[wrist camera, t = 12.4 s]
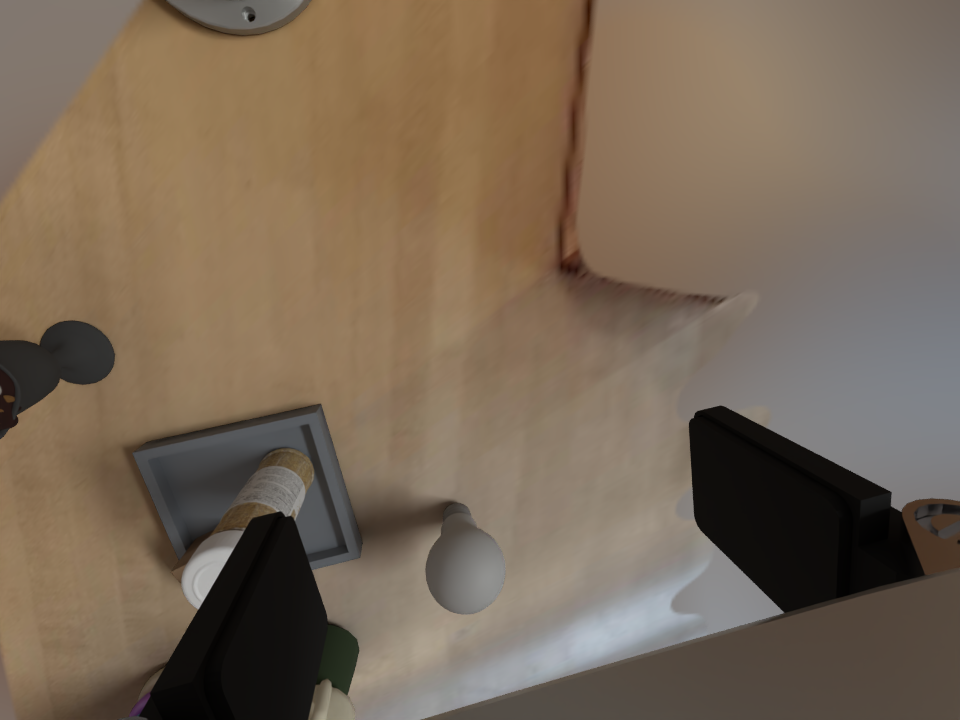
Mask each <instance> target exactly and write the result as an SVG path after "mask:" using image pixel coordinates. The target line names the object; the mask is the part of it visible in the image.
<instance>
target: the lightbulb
mask: <svg viewBox="0 0 960 720" xmlns="http://www.w3.org/2000/svg"><path fill="white" fill-rule="evenodd" d="M504 579H505V560H504V557H503V553H502V550H501V549H500V547H499V545H498V544H497V542H496V541H495V540H494V539H493V538H492V537H491V536H490V535H489V534H487V533H486V532H484V531H483V530H481V529H479V528H477V525H476V522H475V521H474V519H473V518H472V516H471V513H470V511H469V509H468V507H467V506H465V505H464V504H461V503H454V504H451V505H449V506H448V507H447V508H446V509H445V511H444V513H443V524H442V527H441V536H440V537H439V538H438V539H437V541H436V542H435V543H434V545H433V546H432V548H431V550H430V552H429V555H428V558H427V562H426V581H427V584H428V587H429V590H430V592H431V594H432V595H433V597H434V598H435V600H436V601H437V602H438V603H439V604H440V605H441V606H442V607H444V608H445V609H447V610H449V611H451V612H454V613H457V614H473V613H477V612H480V611H481V610H483V609H485V608H486V607H488V606H489V605H490V604H491V603H492V602H493V601H494V600H495V599H496V597H497V596H498V594H499V593H500V591H501V589H502V587H503V584H504Z"/></svg>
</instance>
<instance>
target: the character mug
mask: <svg viewBox="0 0 960 720" xmlns="http://www.w3.org/2000/svg"><path fill="white" fill-rule="evenodd" d="M358 654H359V646H358V642H357V639H356V638H355V637H354V636H353V635H352V634H351V633H350V632H349V631H347V630H344V629H342V628H339V627H337V626H333V625H328V629H327V635H326V640H325V644H324V649H323V654H322V658H321V663H320V667H319V672H318V677H317V681H316V686H315V691H314V695H313V700H312V705H311V709H310V714H309V718H308V720H355V708H354V706H353V704H352V702H351V700H350V697H348V696H347V695H348V691H349V688H350V684H351V681H352V677H353V674H354V670H355V667H356V662H357V658H358Z"/></svg>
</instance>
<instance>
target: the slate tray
mask: <svg viewBox="0 0 960 720" xmlns="http://www.w3.org/2000/svg"><path fill="white" fill-rule="evenodd" d="M281 448H291V449H296V450H298V451H300V452H302V453H303V454H305V455H306V456H307V457H308V458H309V459H310V461H311V463H312V465H313V468H314V479H313V482H312V484H311V486H310V487H309V488H308V490H307V492H306V494H305V498H304V501H303V504H302V506H301V508H300V511H299V513H298V515H297V517H296V520H295V522H296V525H297V528H298V531H299V534H300V537H301V540H302V543H303V546H304V549H305V552H306V555H307V558H308V561H309V564H310V567H311V569H312V570H314V569H318V568H322V567H326V566H330V565H334V564H338V563H342V562H346V561H350V560H353V559H357V558H360V556H361V550H362V544H363V543H362V540H361V536H360V533H359V530H358V526H357V523H356V520H355V516H354V513H353V510H352V506H351V503H350V499H349V496H348V493H347V489H346V486H345V483H344V479H343V476H342V473H341V469H340V466H339V463H338V459H337V456H336V452H335V449H334V446H333V442H332V439H331V436H330V432H329V429H328V426H327V422H326V419H325V416H324V412H323V409H322V405H321V404H318V405H314V406H309V407H305V408H300V409H296V410H291V411H286V412H282V413H277V414H273V415H268V416H264V417H259V418H255V419H250V420H245V421H241V422H236V423H232V424H227V425H223V426H218V427H213V428H209V429H204V430H200V431H195V432H191V433H186V434H182V435H177V436H172V437H168V438H163V439H159V440H154V441H150V442H146V443H145V444H144V445H142V446H141V447H140V448H138V449H137V450H136V451H134V452H133V453H132V454H133V456H134V458H135V461H136V463H137V465H138V467H139V470H140V472H141V474H142V477H143V479H144V481H145V484H146V486H147V488H148V490H149V493H150V495H151V497H152V500H153V502H154V504H155V507H156V509H157V511H158V513H159V516H160V518H161V520H162V523H163V525H164V527H165V530H166V532H167V534H168V536H169V539H170V541H171V543H172V546H173V548H174V550H175V553H176V555H177V557H178V559H179V560H180V559H181V558H182V556H183V555H184V553H185V552H186V551H187V549H188V548H189V547H190V545H191V544H192V543H193V541H194V540H195V539H196V538H198V537H200V536H202V535H204V534H206V533H208V532H210V531H212V530H214V529H215V528H216V527H217V525H218V524H219V523H220V520H221V518H222V517H223V515H224V514H225V512H226V511H227V510H228V508H229V507H230V505H231V504H232V503H233V501H234V500H235V498H236V497H237V495H238V494H239V493H240V491H241V490H242V488H243V487H244V485H245V484H246V483H247V481H248V480H249V479H250V477H251V476H252V475H253V474H254V473H255V472H256V471H257V469H258V468H259V464H260V462H261V461H262V460H263V458H264V457H265V456H266V455H267V454H268V453H270V452H272V451H274V450H276V449H281Z"/></svg>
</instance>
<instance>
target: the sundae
mask: <svg viewBox="0 0 960 720" xmlns="http://www.w3.org/2000/svg"><path fill="white" fill-rule="evenodd" d="M114 357H115V354H114V350H113V347H112V345H111V343H110V341H109V340H108V338H107V337H106V336H105V335H104V334H103V333H102V332H101V331H100V330H98V329H97V328H95V327H93V326H91V325H89V324H87V323H83V322H79V321H64V322H59V323H57V324H55V325H53V326H52V327H50V328H49V329H47V331H46V332H45V333H44V335H43V337H42V339H41V343H40V346H39V345H37V344H35V343H32V342H28V341H21V340H9V341H0V439H1V438H2V437H4V435H5V434H6V433H7V431H8V430H9V429H10V428H12V427H14V426H15V425H17V423H18V417H17V415H18V414H20V413H21V412H23V411H24V410H26V409H28V408H29V407H31V406H33V405H34V404H36V403H37V402H39V401H40V400H42V399H43V398H44V397H46V396H47V395H48V394H49V393H50V392H52V391H53V390H54V389H55V388H56V386H57V385H58V383H59V380H60V378H61V379H63V380H65V381H67V382H70V383H74V384H81V385H83V384H91V383H96V382H98V381H100V380H102V379H103V378H105V377H106V376H107V375H108V374H109V373H110V371H111V370H112V368H113V365H114Z"/></svg>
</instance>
